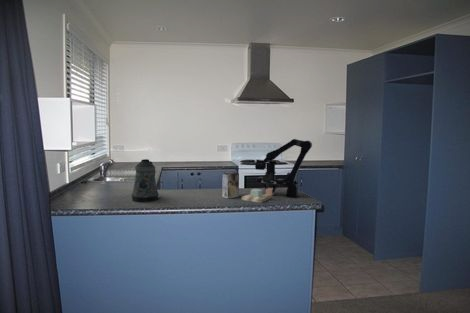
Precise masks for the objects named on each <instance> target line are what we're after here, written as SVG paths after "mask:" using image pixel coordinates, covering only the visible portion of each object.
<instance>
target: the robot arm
mask: <svg viewBox="0 0 470 313" xmlns="http://www.w3.org/2000/svg"><path fill="white" fill-rule="evenodd" d="M296 146H297V147H299V148H300V151H299V154H298V156H297V159H296V161H295V163H294V165H293V167H292V169H291V170H290V171H288V172H287V173H286V176H285V178H278V179H277V178H276V173H277V172H276V165H278V164H279V162H278V161H277V160H276V158H278V157H279V156H280V155H281V154H283V153H284V152H286V151H287V150H289V149H291V148H292V147H296ZM312 147H313V142H311V141H310V140H299V139H297V138H293V139H291V140H290V141H288V142H287V143H285V144H284V145H282V146H280V147H278V148H277V149H275V150H272V151H270V152H267V153H266V155H265V158H264V159H263V160H262V159H255V160H256V162H255V164H254V166H255V170H259V171H266V172H265V174H264V175H263V176H259V177H256V183H261V184H262V185H263V186H264V189H265V191H266V189H267V188H269V184H270V183H272V188H273V193H274V192H275V191H276V190H277V188H278V186H279V185H283V184H285V185H286V186H287V189H286V198H293V199H294V198H295V199H296V198H298V197H299V187H298V185H299V183H298V182H297V181H296V180H297V175H298V172H299V169H300V168H301V165H302V164H303V161H304V160H305V157H306V156H307V154H308V153H309V151H310V150H311V149H312ZM265 169H266V170H265Z"/></svg>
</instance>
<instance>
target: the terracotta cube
mask: <svg viewBox="0 0 470 313" xmlns="http://www.w3.org/2000/svg"><path fill="white" fill-rule="evenodd" d="M265 195H271V196H274V195H275V192H274V193H273V187H268V188H267V189H266V190H265Z"/></svg>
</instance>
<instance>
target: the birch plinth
mask: <svg viewBox="0 0 470 313" xmlns="http://www.w3.org/2000/svg"><path fill="white" fill-rule="evenodd" d="M271 196H272V195H266V194H263V193H262V196H260V197H252V196H251V192H249V193H247V194H245V195H243V196H241V198H240V199H241V201H248V202H252V203H253V202H254V203H260V204H262V203H263V202H266V201H268V200H270V199H272V197H271Z"/></svg>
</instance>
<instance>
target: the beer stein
mask: <svg viewBox="0 0 470 313" xmlns="http://www.w3.org/2000/svg"><path fill="white" fill-rule="evenodd" d="M134 169H135V177H134V184H133V188H132V191H131V199H132V201H133V202H137V203H149V202H155V201H157V200H158V199H159V198H158V197H159V191H158V188H157V183H156V166H155V165H154V164H153V162H152V161H150V159H147V158H146V159H143V158H142V159H141V161H140V162H138V163H137V164H136V165H135V166H134Z"/></svg>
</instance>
